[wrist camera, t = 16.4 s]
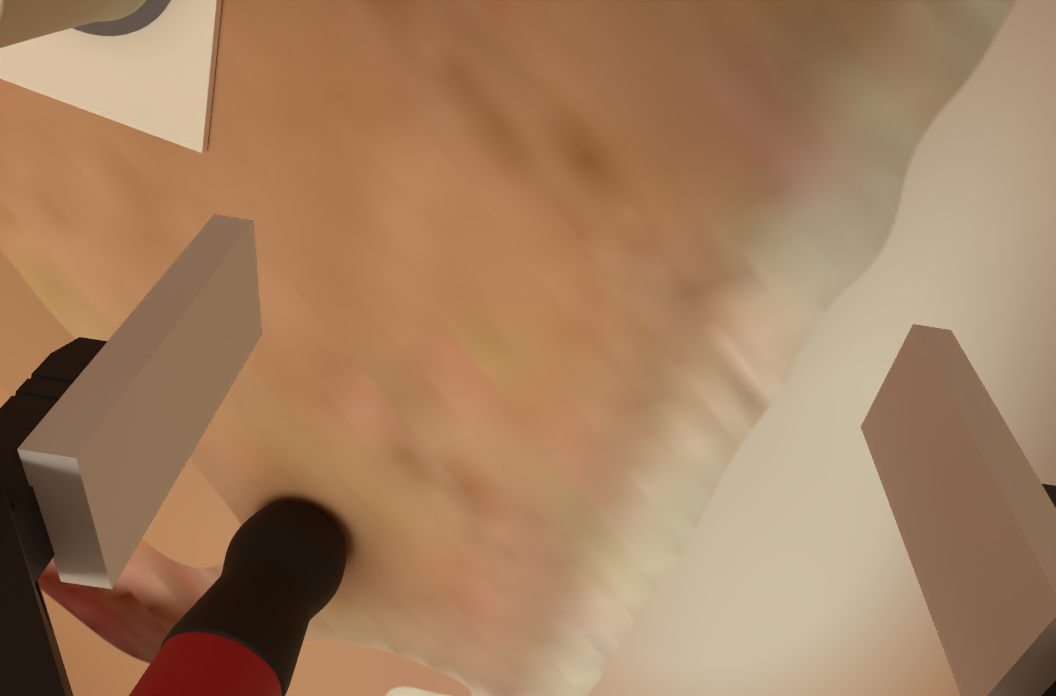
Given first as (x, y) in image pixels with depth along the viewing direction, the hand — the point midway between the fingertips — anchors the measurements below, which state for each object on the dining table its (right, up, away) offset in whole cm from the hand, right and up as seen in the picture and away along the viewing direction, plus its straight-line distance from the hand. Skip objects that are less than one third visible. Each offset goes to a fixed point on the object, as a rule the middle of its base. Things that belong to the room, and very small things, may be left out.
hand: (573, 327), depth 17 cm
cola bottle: (-18, -15, +46) cm, 52 cm away
